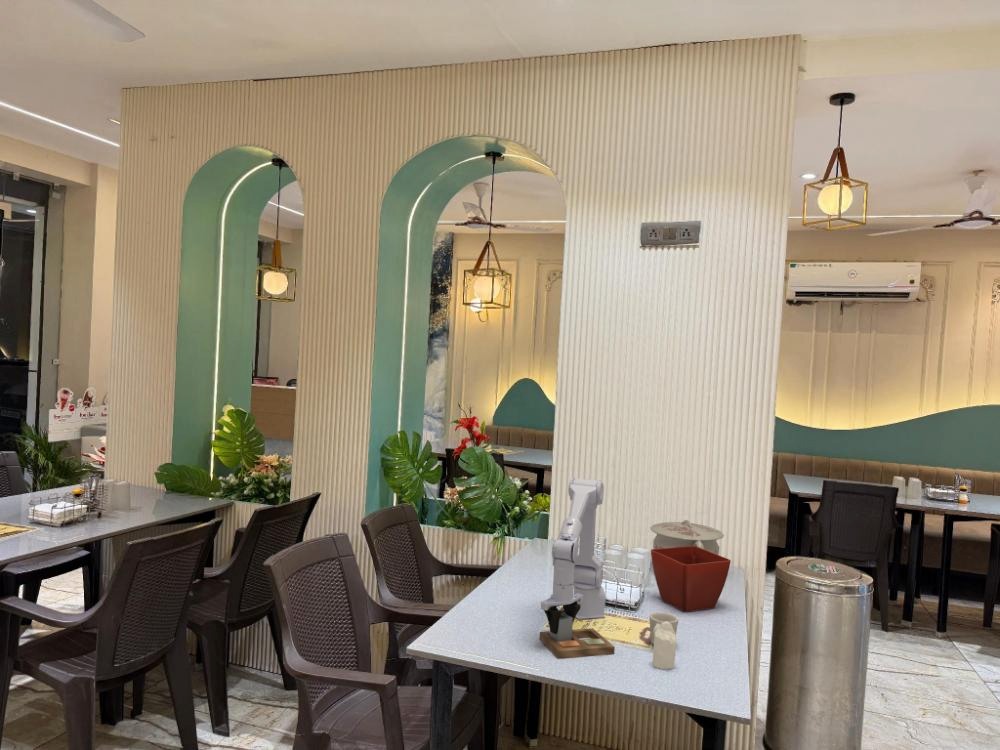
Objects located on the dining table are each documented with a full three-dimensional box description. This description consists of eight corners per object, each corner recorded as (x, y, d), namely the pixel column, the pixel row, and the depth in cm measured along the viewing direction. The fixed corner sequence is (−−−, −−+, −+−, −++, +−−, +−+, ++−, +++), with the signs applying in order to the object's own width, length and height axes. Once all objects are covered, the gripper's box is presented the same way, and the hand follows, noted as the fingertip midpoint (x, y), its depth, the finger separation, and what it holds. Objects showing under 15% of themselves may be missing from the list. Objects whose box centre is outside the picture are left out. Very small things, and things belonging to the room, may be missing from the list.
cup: (667, 655, 204) (669, 627, 204) (640, 648, 208) (641, 620, 208) (680, 644, 213) (682, 616, 213) (653, 637, 217) (655, 610, 217)
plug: (562, 637, 212) (564, 607, 211) (571, 642, 208) (573, 612, 208) (549, 639, 209) (550, 609, 209) (558, 645, 206) (559, 614, 205)
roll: (669, 615, 201) (682, 623, 196) (666, 659, 201) (679, 668, 196) (650, 618, 198) (663, 625, 193) (648, 662, 199) (660, 671, 193)
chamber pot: (665, 560, 304) (667, 509, 304) (731, 574, 288) (734, 520, 288) (635, 574, 281) (638, 519, 281) (705, 590, 265) (708, 532, 265)
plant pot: (682, 617, 236) (685, 564, 236) (646, 598, 253) (649, 548, 253) (729, 611, 244) (732, 560, 243) (692, 593, 261) (694, 545, 261)
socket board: (592, 635, 217) (593, 626, 217) (614, 653, 203) (614, 644, 203) (539, 639, 212) (539, 630, 211) (558, 658, 198) (558, 649, 198)
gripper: (571, 575, 216) (569, 621, 216) (534, 582, 207) (532, 631, 207) (589, 581, 210) (586, 629, 211) (551, 589, 201) (549, 639, 202)
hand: (560, 630), depth 209 cm, fingers closed on plug, 5 cm apart
